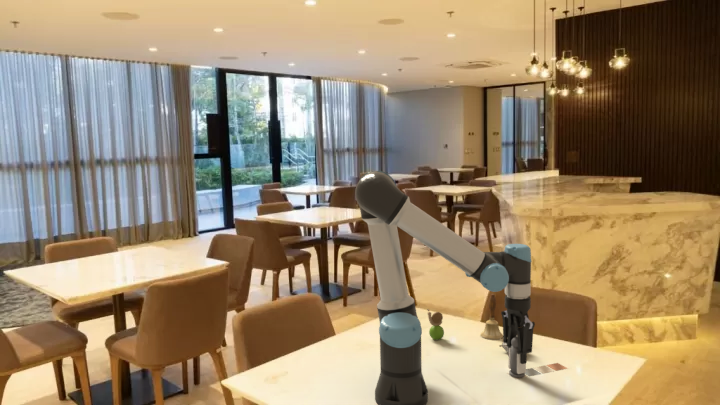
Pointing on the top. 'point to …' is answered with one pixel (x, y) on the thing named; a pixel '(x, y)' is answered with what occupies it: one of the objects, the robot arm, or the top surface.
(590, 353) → the top surface
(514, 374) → the pawn
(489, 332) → the hand bell
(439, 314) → the snail figurine
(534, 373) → the track
